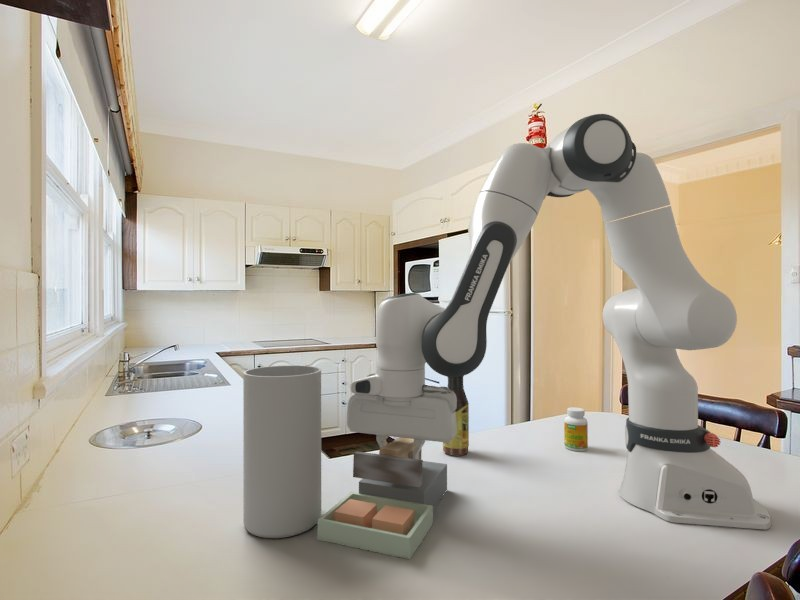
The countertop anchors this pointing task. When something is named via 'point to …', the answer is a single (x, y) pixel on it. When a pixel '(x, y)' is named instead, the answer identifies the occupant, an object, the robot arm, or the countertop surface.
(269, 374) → the cylinder vase
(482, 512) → the countertop surface
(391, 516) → the peach block
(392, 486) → the board
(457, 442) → the sauce bottle
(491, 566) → the countertop surface
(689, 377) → the robot arm
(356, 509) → the orange block
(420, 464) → the grey and tan blocks
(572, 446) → the supplement bottle
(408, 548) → the tray
